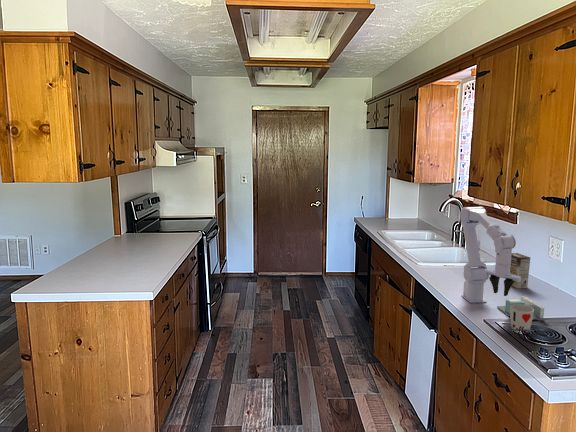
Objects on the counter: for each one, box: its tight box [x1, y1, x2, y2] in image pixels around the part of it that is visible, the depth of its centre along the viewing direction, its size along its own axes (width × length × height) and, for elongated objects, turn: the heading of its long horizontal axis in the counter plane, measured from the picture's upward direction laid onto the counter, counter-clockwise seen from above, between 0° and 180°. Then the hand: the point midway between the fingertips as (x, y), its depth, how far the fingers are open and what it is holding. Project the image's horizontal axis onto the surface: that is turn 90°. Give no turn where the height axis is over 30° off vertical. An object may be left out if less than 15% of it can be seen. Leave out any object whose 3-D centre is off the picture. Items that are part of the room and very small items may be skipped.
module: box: [504, 298, 525, 314], centre depth 184 cm, size 4×6×5 cm, turn 93°
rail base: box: [496, 295, 545, 320], centre depth 184 cm, size 14×12×6 cm
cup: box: [509, 304, 534, 332], centre depth 167 cm, size 8×8×10 cm
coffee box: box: [504, 252, 531, 289], centre depth 220 cm, size 9×6×16 cm
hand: (500, 294), depth 183 cm, fingers open, 4 cm apart
